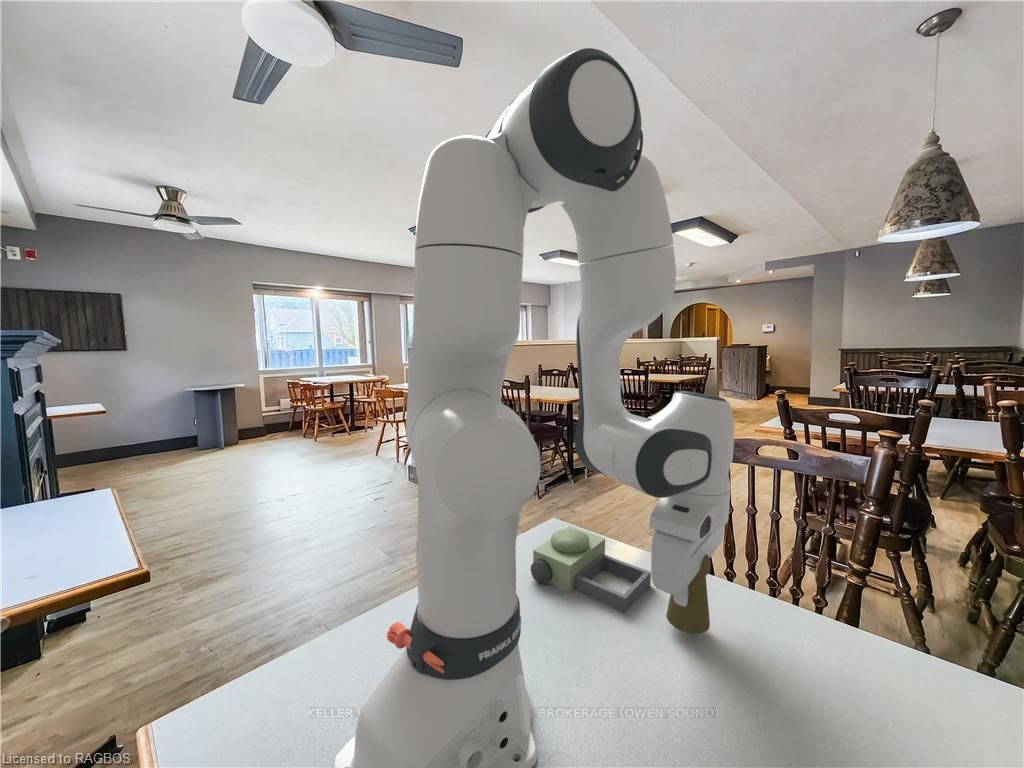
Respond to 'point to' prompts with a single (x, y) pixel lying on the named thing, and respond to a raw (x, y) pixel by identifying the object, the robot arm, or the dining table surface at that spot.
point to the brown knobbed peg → (692, 605)
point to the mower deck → (586, 568)
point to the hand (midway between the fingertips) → (689, 592)
